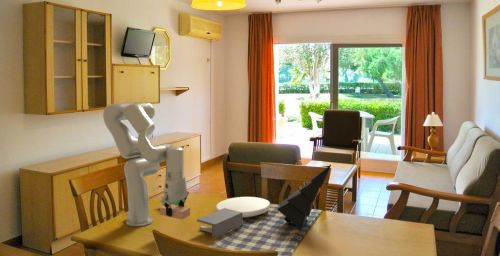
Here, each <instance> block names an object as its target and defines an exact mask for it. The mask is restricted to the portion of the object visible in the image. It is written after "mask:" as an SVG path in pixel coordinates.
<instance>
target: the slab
mask: <svg viewBox="0 0 500 256" xmlns="http://www.w3.org/2000/svg"><path fill="white" fill-rule="evenodd" d="M168 205H169V204H168ZM171 208H172V216H171V217H170V216H167V215H166V207H165V206H164V205H162V206H160V207H159V215H160V216H164V217H168V218H173V219H178V220H181V221H183V220H184V219H186V218H188V217H189V216H190V215H191V207H188V206H187V207H186V206H184V207H183V206H178V205H173V204H172V205H171Z"/></svg>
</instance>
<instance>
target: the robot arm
mask: <svg viewBox="0 0 500 256" xmlns="http://www.w3.org/2000/svg"><path fill="white" fill-rule="evenodd" d="M155 115H156V113H155V108H154V106H153V105H152V104H151V103H150V102H143V101H129V102H118V103H116V102H115V103H111V104H108V105H106V106H105V107H104V109H103V113H102V116H103V122H104V125H105V126H106V128H107V129H108V131H109V133H110V134H111V136H112V137H113V140H114V143H115V145H116V147H117V149H118V152H119V154H120V155H121V157H122V158H123V159H129V160H128V161H126V163H125V164H124V165H123V170H124V171H123V172H124V176H125V181H126V188H127V190H126V191H127V206H128V211H127V212H126V213H125V215H126V216H127V217H128V218H127V220H125V224H126V226H128V227H134V228H135V227H137V228H138V227H144V226H148V225H150V224H152V222H153V217H152V216H150V206H149V188H148V183H147V182H146V180H145V179H144V178H146V177H148V176H152V175H153V176H154V175H155V174H157V173H158V172H159V171H160V166H161V165H160V163H162V162H165V167H166V168H165V169H166V170H165V173H166V174H165V175H164V178H165V180H164V187H163V196H162V197H163V198H162V197H161V199H160V201H159V202H160V203H161V204H162V206H165V207H166V215H167V216H170V217H169V218H172V217H171V216H172V208H171V205H172V202H176V201H180V202H179V203H178V206H183V207H185V203H186V200H187V198H188V197H189V194H190V192H189V191H188V187H187V181H186V180H187V179H186V176H185V175H184V149H183V148H182V147H180V146H175V145H173V144H170V143H164V144H157V145H152V144H151V141H150V140H149V139H148V137H150V135H152V134H153V132H154V131H155V128H156V125H155V123H154V122H153V121H152V119H153V118H154V117H155ZM126 120H127V121H128V122H129V123H130V125H131V127H132V128H133V129H134V130H135V132H136V134H137V136H133V135H132V132H131V130H130V128H129V127H128V126H127V125H126V124H125V123H123V122H122V121H126ZM131 158H132V159H131ZM165 200H166V202H165ZM168 202H169V205H168ZM167 216H166V217H167Z"/></svg>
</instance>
